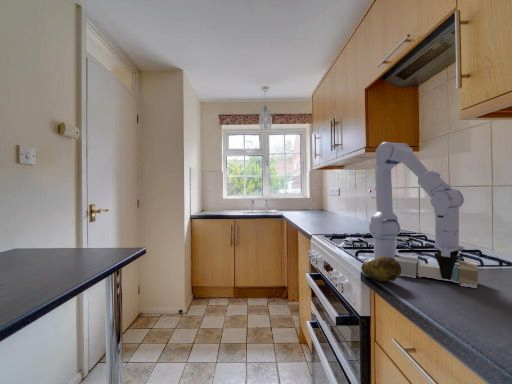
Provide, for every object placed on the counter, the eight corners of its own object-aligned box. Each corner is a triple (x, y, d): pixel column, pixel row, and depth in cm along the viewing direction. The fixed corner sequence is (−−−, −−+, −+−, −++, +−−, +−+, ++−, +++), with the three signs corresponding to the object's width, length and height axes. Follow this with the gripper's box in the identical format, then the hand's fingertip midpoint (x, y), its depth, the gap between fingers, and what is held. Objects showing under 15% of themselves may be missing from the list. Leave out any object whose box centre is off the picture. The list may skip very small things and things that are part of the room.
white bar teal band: (419, 273, 88) (419, 259, 87) (466, 280, 80) (466, 265, 80) (417, 277, 83) (417, 262, 83) (467, 285, 76) (467, 269, 76)
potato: (385, 274, 87) (385, 249, 87) (406, 290, 74) (406, 260, 74) (359, 274, 87) (359, 249, 87) (375, 289, 75) (375, 260, 74)
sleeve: (398, 270, 92) (398, 256, 92) (418, 273, 88) (418, 258, 88) (394, 275, 87) (394, 260, 86) (416, 278, 83) (416, 263, 83)
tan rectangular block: (459, 279, 82) (459, 260, 82) (476, 282, 80) (476, 262, 79) (459, 286, 77) (459, 265, 77) (477, 289, 74) (477, 268, 74)
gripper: (464, 235, 73) (463, 286, 73) (463, 228, 84) (463, 272, 84) (432, 232, 77) (432, 280, 77) (436, 226, 88) (436, 268, 89)
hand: (446, 276), depth 81 cm, fingers closed on white bar teal band, 5 cm apart
